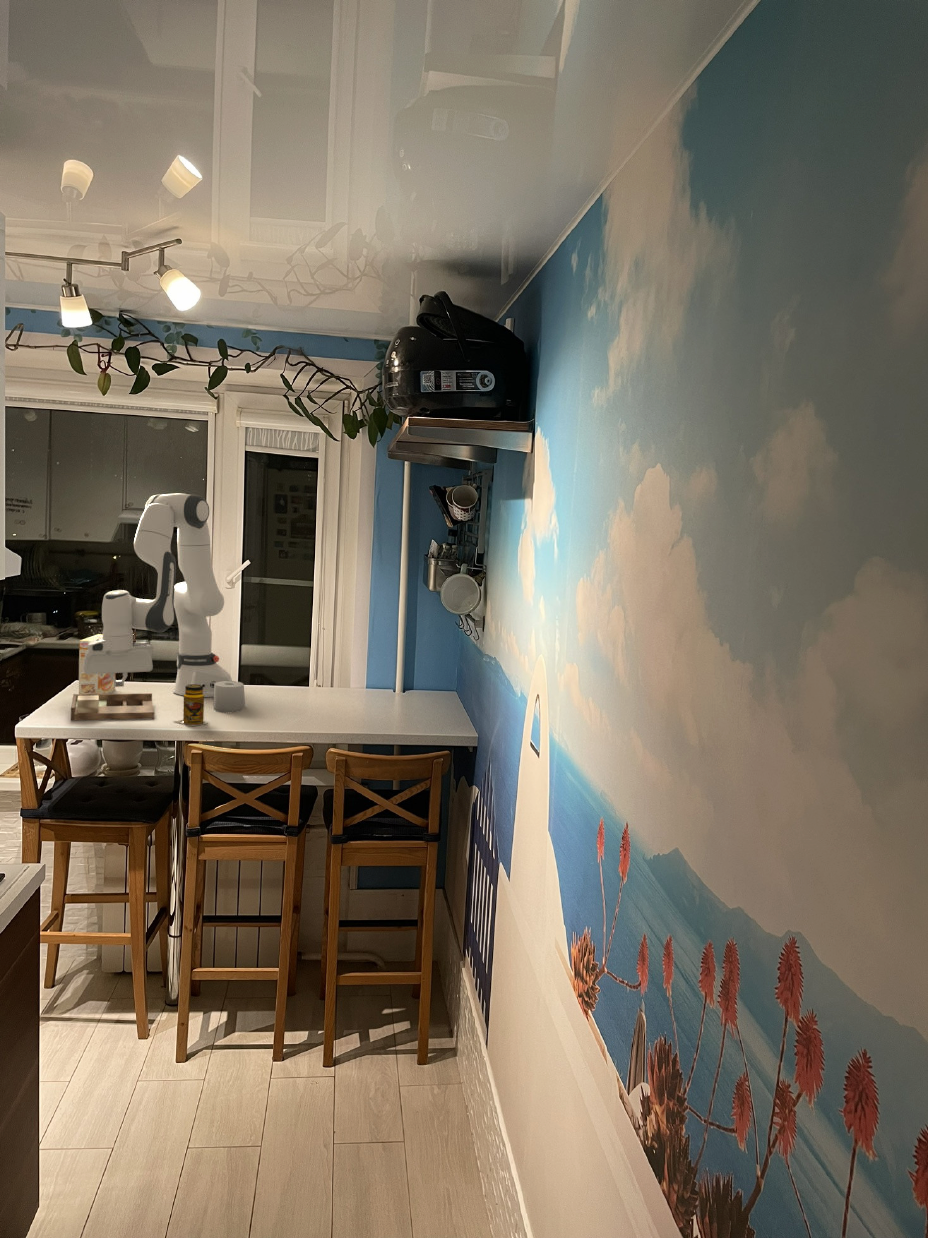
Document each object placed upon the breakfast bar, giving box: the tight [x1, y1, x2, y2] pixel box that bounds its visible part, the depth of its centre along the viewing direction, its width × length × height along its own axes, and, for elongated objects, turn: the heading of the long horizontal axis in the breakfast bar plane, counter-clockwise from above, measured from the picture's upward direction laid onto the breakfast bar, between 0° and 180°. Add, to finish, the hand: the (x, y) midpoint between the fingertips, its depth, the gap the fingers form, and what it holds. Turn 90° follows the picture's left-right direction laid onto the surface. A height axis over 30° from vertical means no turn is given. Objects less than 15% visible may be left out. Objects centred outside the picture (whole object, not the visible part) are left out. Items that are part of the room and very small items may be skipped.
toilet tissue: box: [213, 680, 246, 714], centre depth 306 cm, size 9×13×9 cm
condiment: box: [173, 684, 210, 728], centre depth 284 cm, size 7×8×12 cm
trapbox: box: [70, 692, 155, 721], centre depth 290 cm, size 24×18×4 cm
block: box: [77, 695, 99, 713], centre depth 283 cm, size 6×6×4 cm
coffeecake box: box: [78, 633, 116, 694], centre depth 312 cm, size 15×7×20 cm, turn 179°
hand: (119, 686), depth 286 cm, fingers closed
